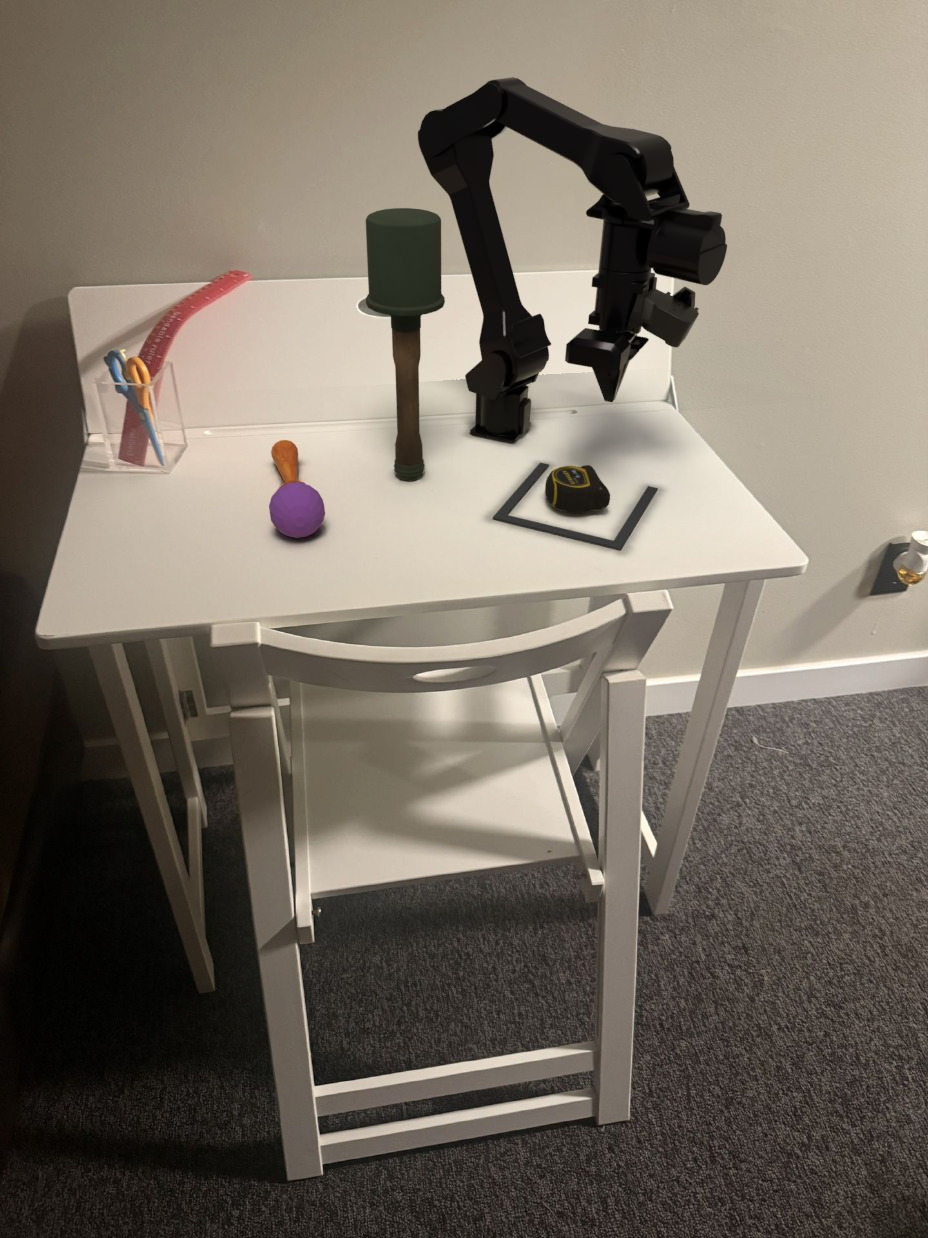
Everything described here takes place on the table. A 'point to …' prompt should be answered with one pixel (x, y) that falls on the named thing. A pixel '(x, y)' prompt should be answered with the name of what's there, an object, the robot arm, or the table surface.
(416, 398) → the potato masher grenade
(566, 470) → the tape measure
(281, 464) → the purple maraca
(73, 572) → the table surface
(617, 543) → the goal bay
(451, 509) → the table surface
